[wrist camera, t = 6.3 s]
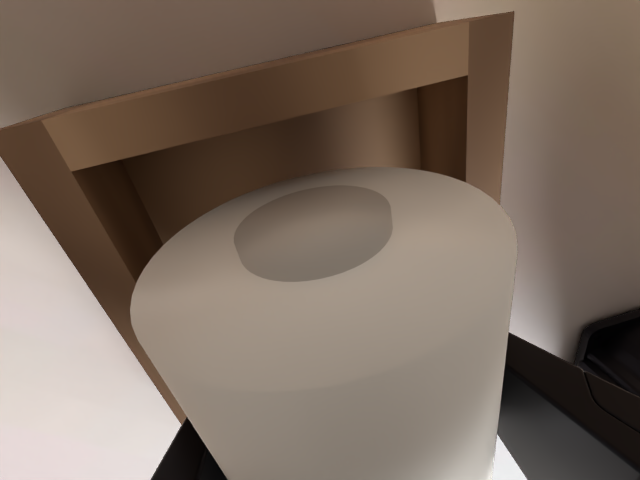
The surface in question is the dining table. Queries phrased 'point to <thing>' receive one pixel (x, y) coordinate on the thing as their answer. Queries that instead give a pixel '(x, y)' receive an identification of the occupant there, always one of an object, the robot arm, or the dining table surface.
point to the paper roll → (338, 326)
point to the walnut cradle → (258, 143)
